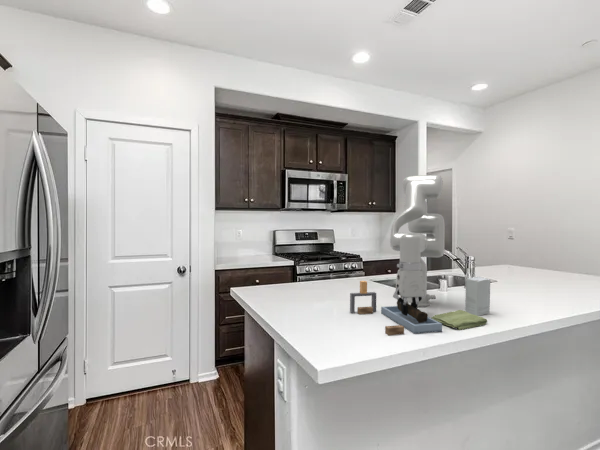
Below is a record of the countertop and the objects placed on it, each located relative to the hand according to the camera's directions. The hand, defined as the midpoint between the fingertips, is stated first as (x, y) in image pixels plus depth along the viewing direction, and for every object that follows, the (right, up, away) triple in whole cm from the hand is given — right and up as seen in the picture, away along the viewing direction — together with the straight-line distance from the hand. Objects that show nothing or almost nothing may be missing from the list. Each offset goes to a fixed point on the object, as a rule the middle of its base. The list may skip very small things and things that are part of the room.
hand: (409, 313), depth 122 cm
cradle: (-12, -3, -1) cm, 13 cm away
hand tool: (0, -1, 0) cm, 1 cm away
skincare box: (+33, -3, +12) cm, 35 cm away
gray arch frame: (-15, -3, +12) cm, 20 cm away
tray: (0, -3, 0) cm, 3 cm away
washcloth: (+19, -4, 0) cm, 19 cm away
